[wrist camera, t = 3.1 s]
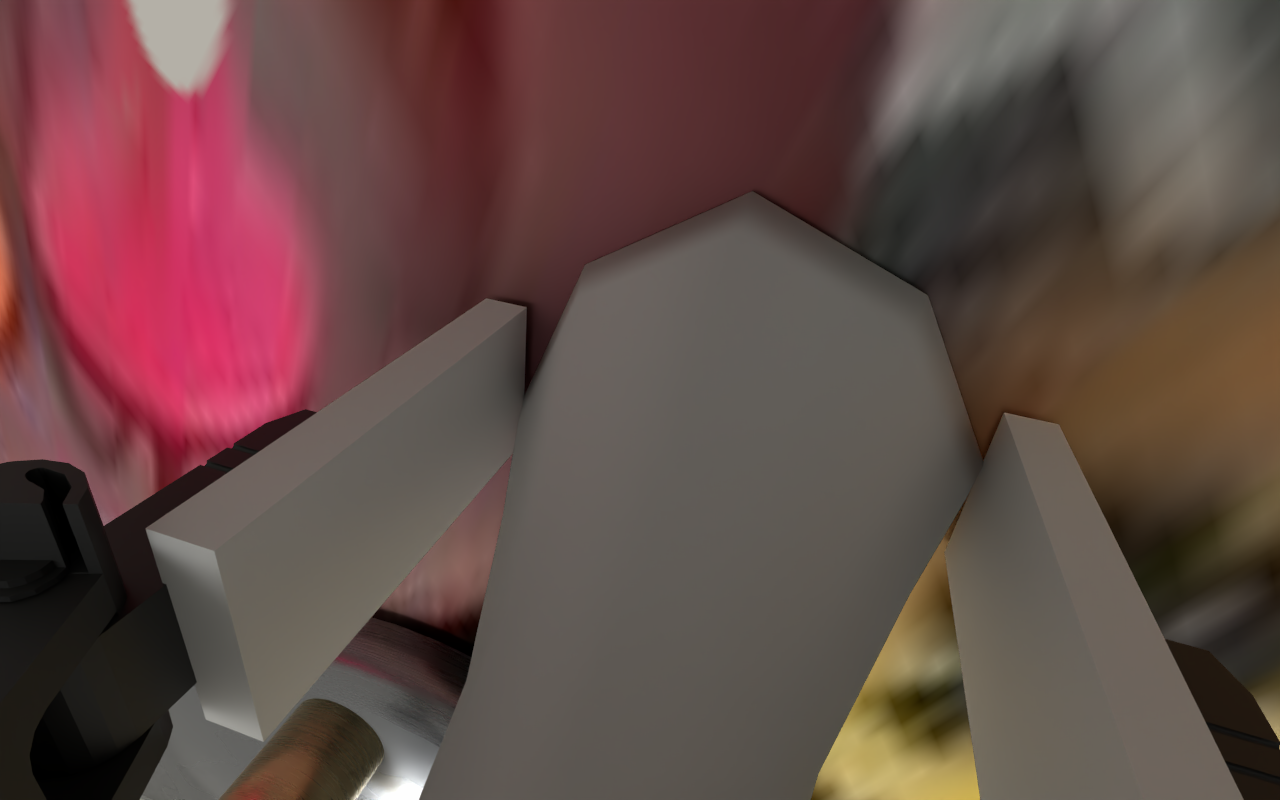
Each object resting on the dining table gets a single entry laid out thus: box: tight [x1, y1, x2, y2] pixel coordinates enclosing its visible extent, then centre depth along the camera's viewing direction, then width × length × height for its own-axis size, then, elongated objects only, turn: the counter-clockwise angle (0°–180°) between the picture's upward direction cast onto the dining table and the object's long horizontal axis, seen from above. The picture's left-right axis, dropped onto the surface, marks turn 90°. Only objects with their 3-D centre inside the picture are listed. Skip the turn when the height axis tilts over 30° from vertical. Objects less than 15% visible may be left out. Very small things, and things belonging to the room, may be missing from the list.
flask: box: [419, 191, 983, 800], centre depth 7 cm, size 7×7×10 cm
